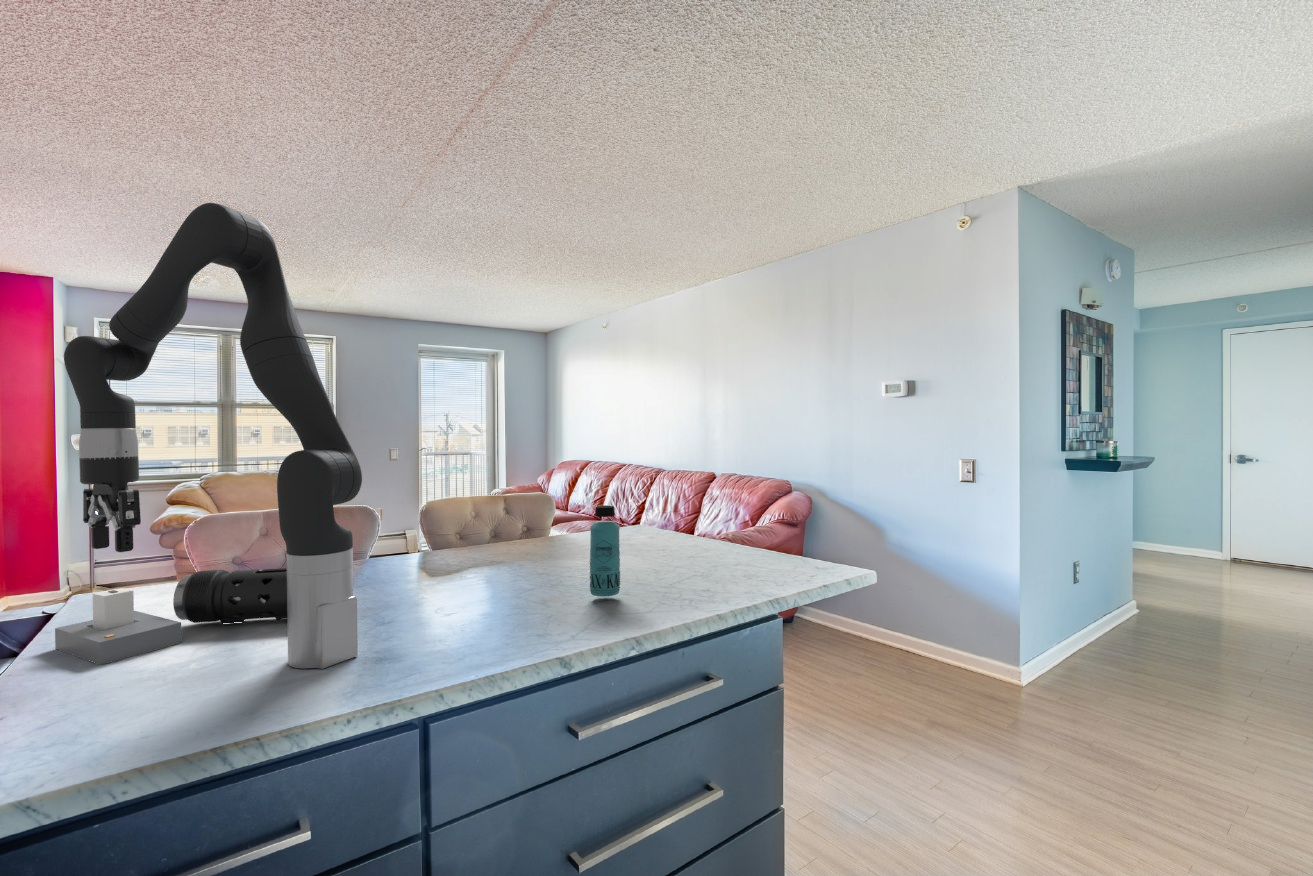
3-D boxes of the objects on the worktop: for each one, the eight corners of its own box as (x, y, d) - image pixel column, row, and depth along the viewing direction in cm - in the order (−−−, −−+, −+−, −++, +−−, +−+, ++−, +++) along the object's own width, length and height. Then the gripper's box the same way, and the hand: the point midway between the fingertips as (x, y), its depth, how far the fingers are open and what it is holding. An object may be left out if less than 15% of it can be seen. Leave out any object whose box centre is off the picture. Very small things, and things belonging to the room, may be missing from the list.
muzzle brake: (340, 623, 114) (339, 569, 114) (170, 635, 109) (169, 577, 108) (354, 609, 124) (353, 558, 124) (199, 619, 118) (198, 566, 118)
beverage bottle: (587, 597, 131) (586, 504, 130) (616, 594, 133) (616, 503, 132) (593, 605, 124) (592, 508, 124) (624, 602, 126) (623, 506, 126)
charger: (134, 642, 105) (133, 589, 104) (105, 650, 101) (104, 595, 101) (122, 639, 106) (121, 587, 106) (93, 646, 103) (92, 592, 103)
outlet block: (181, 642, 104) (181, 621, 104) (100, 664, 94) (99, 641, 94) (135, 629, 111) (135, 609, 111) (55, 648, 102) (54, 627, 102)
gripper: (157, 454, 104) (159, 548, 104) (116, 454, 110) (119, 543, 110) (101, 456, 97) (104, 557, 97) (62, 456, 103) (64, 551, 104)
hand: (112, 549), depth 104 cm, fingers open, 8 cm apart
